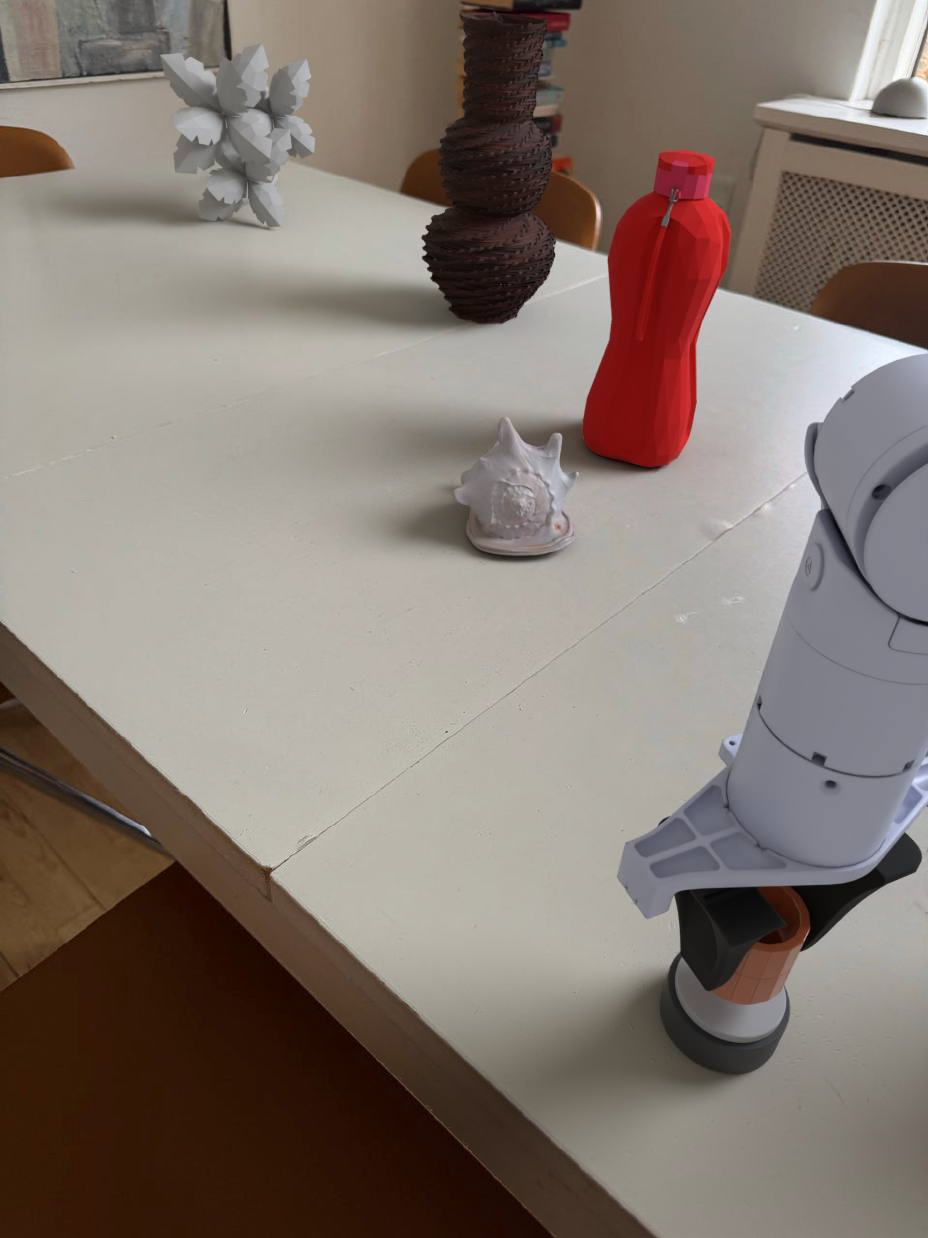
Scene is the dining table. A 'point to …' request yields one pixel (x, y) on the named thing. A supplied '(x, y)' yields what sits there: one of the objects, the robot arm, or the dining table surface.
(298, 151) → the flower bouquet
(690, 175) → the water bottle
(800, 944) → the cup
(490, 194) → the vase
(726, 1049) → the push button
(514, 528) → the seashell
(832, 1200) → the dining table surface
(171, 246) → the dining table surface
